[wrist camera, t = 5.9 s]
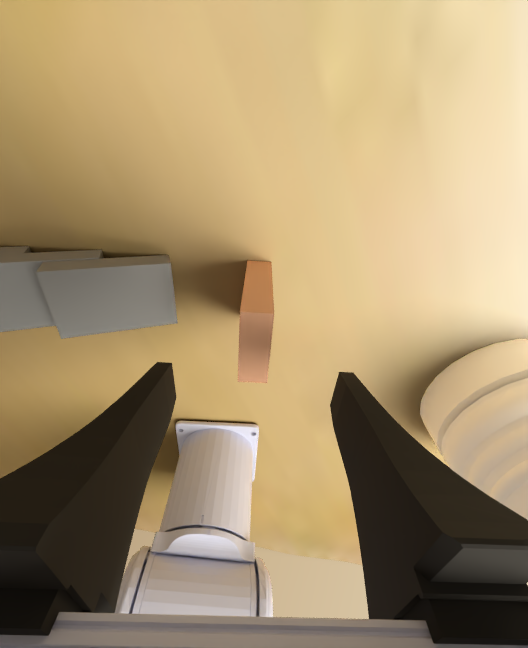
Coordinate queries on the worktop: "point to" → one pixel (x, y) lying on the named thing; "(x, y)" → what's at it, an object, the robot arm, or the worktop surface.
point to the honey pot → (484, 420)
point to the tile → (256, 323)
